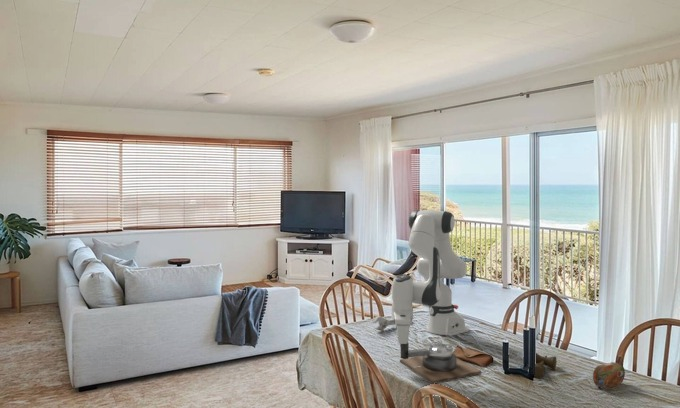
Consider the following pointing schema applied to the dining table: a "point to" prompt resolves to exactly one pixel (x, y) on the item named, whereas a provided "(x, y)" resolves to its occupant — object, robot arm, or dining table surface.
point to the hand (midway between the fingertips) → (402, 347)
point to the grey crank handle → (429, 351)
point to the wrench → (383, 323)
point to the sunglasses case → (473, 357)
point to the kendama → (544, 361)
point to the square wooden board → (440, 368)
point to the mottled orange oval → (608, 375)
